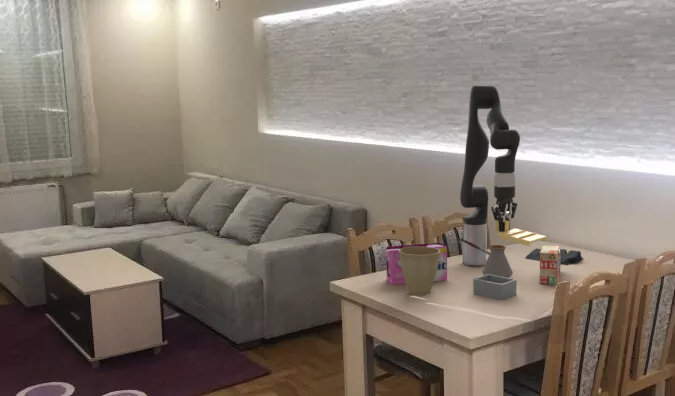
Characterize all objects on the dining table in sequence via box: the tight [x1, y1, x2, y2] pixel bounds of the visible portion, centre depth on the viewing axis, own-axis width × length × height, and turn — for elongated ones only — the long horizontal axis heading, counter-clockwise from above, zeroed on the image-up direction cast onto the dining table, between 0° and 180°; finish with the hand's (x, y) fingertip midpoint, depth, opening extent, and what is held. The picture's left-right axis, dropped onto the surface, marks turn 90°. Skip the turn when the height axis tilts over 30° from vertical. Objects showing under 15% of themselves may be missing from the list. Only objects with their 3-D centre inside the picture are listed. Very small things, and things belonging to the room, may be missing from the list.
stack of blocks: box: [539, 245, 561, 285], centre depth 276 cm, size 21×6×12 cm, turn 159°
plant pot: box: [399, 246, 440, 296], centre depth 259 cm, size 15×15×16 cm
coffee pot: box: [458, 238, 514, 278], centre depth 278 cm, size 21×12×15 cm, turn 59°
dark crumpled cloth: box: [524, 247, 584, 266], centre depth 306 cm, size 15×22×5 cm
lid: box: [495, 220, 547, 247], centre depth 259 cm, size 17×11×5 cm, turn 43°
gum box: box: [385, 242, 448, 286], centre depth 277 cm, size 24×8×14 cm, turn 103°
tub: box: [472, 274, 518, 301], centre depth 254 cm, size 12×9×6 cm
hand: (504, 230), depth 263 cm, fingers closed on lid, 2 cm apart
